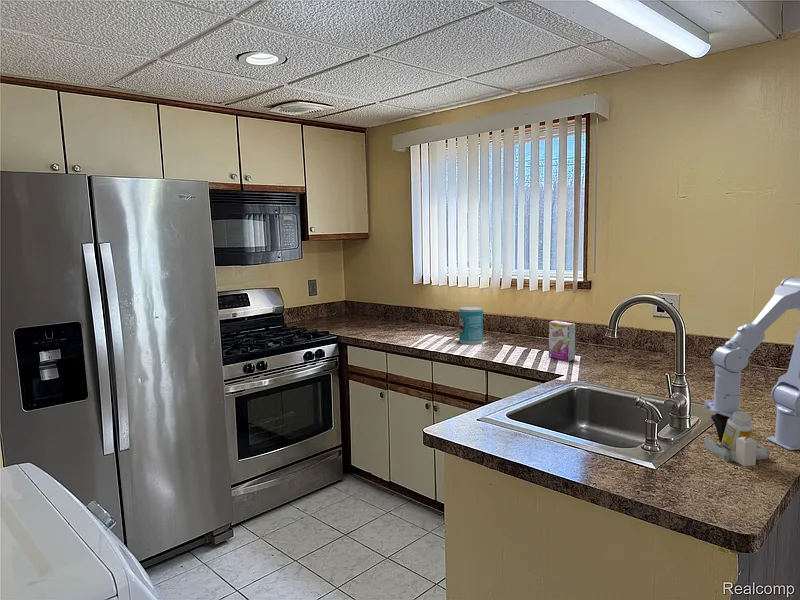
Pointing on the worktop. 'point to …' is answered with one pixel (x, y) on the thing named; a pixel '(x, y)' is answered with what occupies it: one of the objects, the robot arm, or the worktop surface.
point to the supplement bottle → (736, 429)
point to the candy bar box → (562, 340)
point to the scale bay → (733, 451)
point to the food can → (471, 325)
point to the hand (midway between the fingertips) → (724, 442)
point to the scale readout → (745, 451)
